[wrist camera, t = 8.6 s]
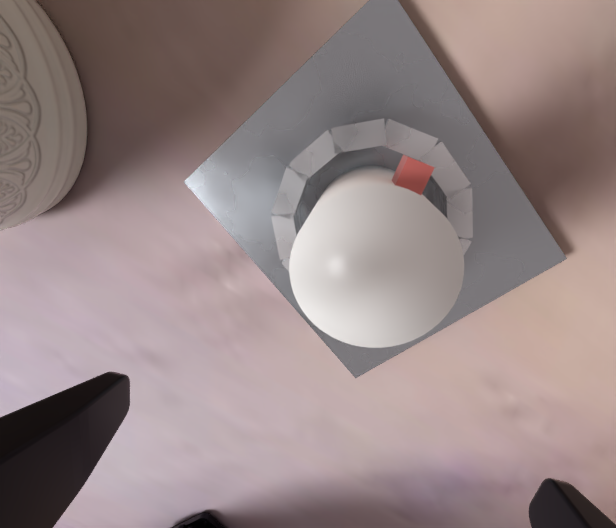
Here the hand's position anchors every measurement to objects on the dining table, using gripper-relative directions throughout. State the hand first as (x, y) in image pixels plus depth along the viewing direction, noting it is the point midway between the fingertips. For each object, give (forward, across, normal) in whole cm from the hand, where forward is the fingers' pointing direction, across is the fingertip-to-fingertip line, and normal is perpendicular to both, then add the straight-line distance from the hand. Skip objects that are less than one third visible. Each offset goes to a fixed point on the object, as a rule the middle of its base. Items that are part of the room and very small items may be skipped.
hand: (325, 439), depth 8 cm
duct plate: (+12, -1, -3) cm, 12 cm away
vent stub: (+11, -1, -3) cm, 11 cm away
